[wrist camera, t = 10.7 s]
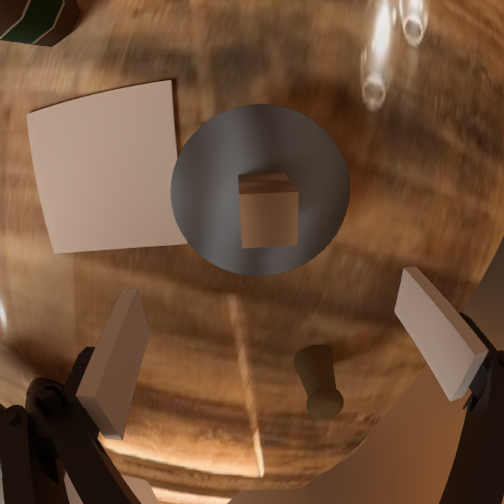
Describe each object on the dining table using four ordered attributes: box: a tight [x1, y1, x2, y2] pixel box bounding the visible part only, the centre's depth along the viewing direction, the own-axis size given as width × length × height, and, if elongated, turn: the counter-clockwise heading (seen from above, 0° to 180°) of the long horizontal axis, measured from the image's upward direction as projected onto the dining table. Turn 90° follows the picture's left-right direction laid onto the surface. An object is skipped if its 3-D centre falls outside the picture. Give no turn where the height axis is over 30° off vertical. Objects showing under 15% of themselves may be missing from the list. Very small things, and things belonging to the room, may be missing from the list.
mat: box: [27, 80, 188, 254], centre depth 33 cm, size 19×19×1 cm
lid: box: [170, 104, 350, 276], centre depth 25 cm, size 16×16×7 cm
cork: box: [294, 345, 343, 419], centre depth 43 cm, size 6×6×11 cm
